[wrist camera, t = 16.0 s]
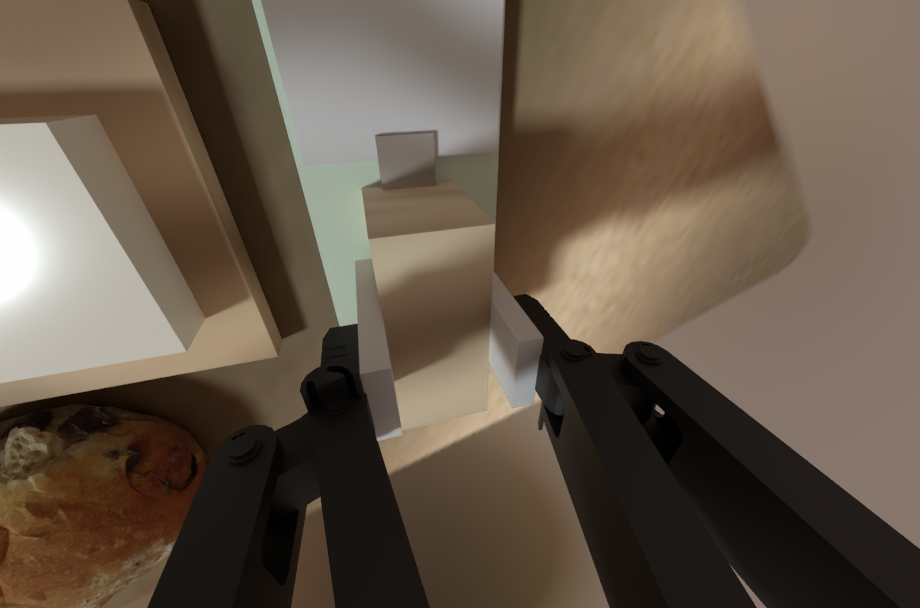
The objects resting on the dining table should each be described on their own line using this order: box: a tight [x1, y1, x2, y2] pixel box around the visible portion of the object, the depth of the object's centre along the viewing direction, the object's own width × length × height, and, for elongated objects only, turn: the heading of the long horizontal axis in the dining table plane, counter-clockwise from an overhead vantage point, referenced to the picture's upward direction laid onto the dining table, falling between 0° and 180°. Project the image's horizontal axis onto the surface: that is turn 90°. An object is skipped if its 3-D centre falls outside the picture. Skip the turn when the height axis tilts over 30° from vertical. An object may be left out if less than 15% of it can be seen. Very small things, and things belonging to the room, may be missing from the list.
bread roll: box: [0, 404, 206, 608], centre depth 16 cm, size 10×10×8 cm
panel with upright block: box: [261, 0, 504, 431], centre depth 11 cm, size 16×7×5 cm, turn 1°
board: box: [0, 0, 282, 407], centre depth 11 cm, size 12×13×1 cm
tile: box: [0, 114, 206, 383], centre depth 10 cm, size 7×2×7 cm
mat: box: [252, 0, 506, 326], centre depth 13 cm, size 17×8×1 cm, turn 1°
